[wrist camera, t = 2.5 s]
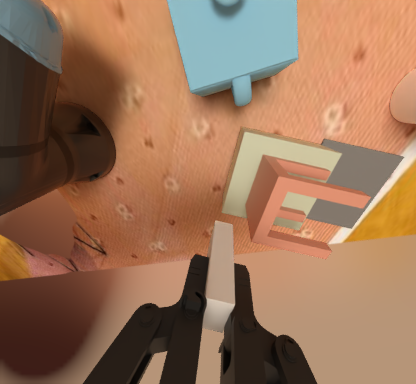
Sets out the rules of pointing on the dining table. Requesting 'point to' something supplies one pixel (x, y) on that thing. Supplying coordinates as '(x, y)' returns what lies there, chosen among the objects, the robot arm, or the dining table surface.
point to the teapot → (234, 42)
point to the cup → (405, 99)
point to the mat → (354, 181)
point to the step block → (277, 147)
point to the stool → (271, 208)
